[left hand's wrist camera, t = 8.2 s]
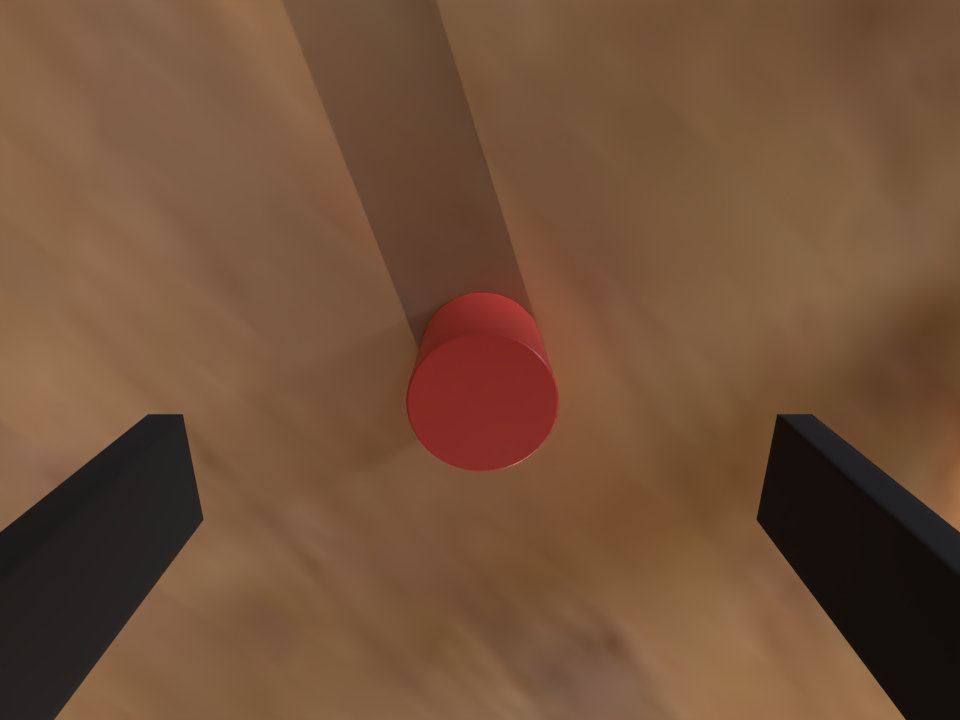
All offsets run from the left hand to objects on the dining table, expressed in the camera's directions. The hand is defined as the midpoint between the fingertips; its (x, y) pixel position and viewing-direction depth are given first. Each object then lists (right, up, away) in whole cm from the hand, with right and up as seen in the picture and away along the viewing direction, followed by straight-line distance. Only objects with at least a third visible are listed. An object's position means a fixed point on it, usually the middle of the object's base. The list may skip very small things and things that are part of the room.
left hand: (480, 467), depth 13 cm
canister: (0, +3, +7) cm, 8 cm away
